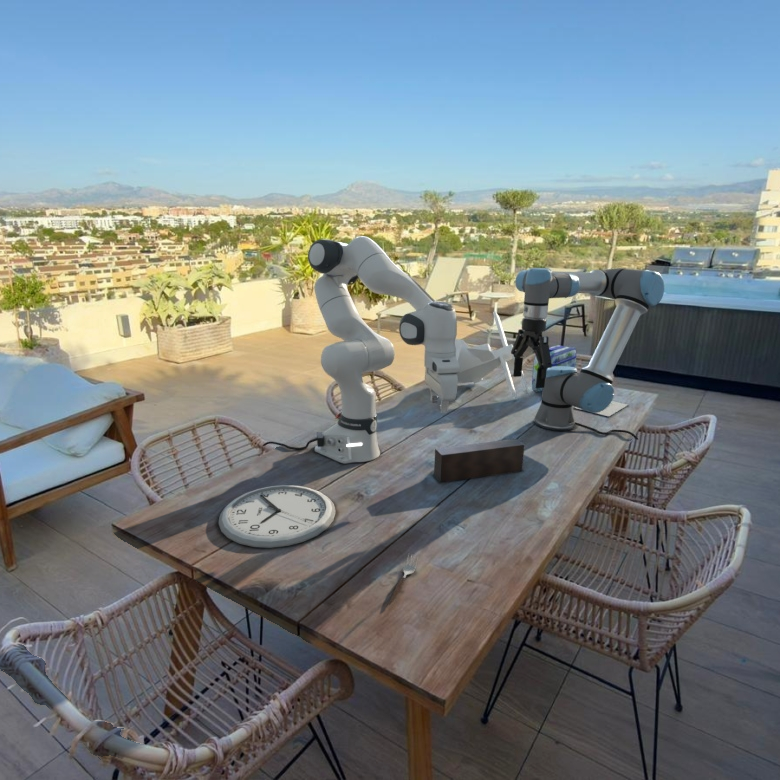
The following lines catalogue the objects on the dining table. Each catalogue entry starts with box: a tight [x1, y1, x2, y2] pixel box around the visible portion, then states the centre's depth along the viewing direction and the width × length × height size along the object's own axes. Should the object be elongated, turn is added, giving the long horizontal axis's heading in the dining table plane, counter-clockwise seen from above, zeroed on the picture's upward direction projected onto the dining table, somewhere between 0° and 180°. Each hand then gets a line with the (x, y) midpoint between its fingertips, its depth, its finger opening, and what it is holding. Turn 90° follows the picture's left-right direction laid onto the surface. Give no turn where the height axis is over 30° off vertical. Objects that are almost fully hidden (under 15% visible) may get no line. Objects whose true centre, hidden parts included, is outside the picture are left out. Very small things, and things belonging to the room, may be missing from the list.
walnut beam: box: [433, 438, 525, 484], centre depth 162 cm, size 28×5×9 cm, turn 108°
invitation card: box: [573, 400, 629, 418], centre depth 226 cm, size 21×1×15 cm
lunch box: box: [531, 345, 577, 394], centre depth 245 cm, size 26×11×21 cm, turn 134°
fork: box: [388, 554, 419, 606], centre depth 112 cm, size 3×16×2 cm, turn 160°
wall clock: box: [218, 484, 336, 549], centre depth 137 cm, size 30×2×30 cm
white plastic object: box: [455, 310, 531, 400], centre depth 245 cm, size 37×45×31 cm
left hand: (438, 407), depth 151 cm, fingers open, 8 cm apart
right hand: (528, 381), depth 173 cm, fingers open, 13 cm apart
